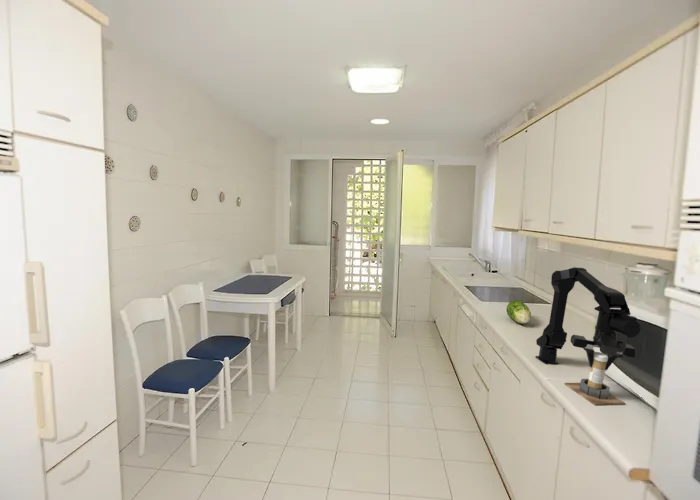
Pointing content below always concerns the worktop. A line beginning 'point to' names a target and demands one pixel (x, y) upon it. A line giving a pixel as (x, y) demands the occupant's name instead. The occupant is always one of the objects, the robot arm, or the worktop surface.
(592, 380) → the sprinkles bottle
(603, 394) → the socket collar
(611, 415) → the worktop surface
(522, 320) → the lettuce
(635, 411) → the worktop surface
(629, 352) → the robot arm
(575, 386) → the socket board
